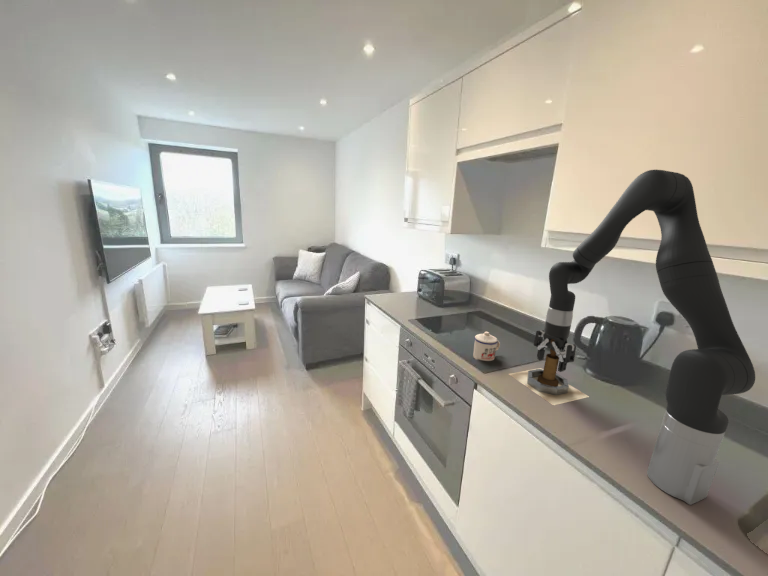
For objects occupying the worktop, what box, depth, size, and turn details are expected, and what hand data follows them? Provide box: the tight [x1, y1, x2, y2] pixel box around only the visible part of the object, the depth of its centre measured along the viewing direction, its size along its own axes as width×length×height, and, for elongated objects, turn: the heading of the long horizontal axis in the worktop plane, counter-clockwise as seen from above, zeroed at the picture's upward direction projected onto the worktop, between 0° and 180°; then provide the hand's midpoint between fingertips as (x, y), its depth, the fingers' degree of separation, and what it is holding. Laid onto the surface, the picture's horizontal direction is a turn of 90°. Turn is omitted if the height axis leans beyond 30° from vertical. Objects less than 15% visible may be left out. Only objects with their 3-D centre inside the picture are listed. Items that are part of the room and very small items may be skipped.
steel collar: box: [527, 368, 569, 396], centre depth 108 cm, size 12×12×2 cm
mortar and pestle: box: [537, 339, 560, 387], centre depth 106 cm, size 7×6×18 cm
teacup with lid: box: [472, 331, 501, 362], centre depth 127 cm, size 12×9×12 cm
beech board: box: [508, 367, 590, 406], centre depth 108 cm, size 20×16×1 cm
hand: (550, 365), depth 106 cm, fingers open, 8 cm apart
